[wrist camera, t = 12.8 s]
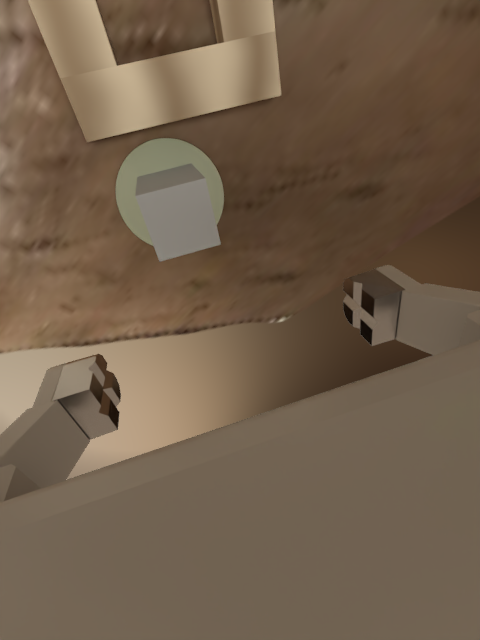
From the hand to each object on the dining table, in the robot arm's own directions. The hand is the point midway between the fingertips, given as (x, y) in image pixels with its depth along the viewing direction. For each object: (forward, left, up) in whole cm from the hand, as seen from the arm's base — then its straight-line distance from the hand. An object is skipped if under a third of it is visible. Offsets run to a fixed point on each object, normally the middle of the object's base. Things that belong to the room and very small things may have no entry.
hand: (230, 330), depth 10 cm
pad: (0, +1, -24) cm, 24 cm away
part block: (0, +1, -24) cm, 24 cm away
